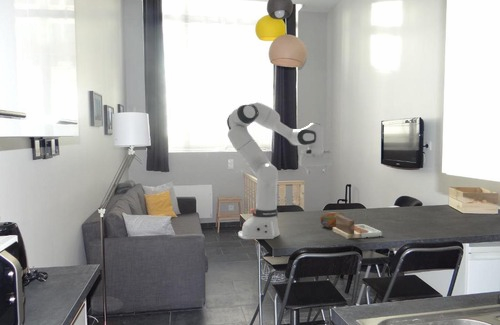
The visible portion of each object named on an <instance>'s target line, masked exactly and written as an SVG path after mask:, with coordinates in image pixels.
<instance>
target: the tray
mask: <svg viewBox="0 0 500 325" xmlns="http://www.w3.org/2000/svg"><path fill="white" fill-rule="evenodd" d="M356 225H357V226H359V227H360V228H364V229H366V230H368V231H369V232H368V233H361V238H360V239H365V238H366V237H368V238H377V237H379V236H380V237H383V231H382V230H379V229H376V228H374V227H371V226H369V225H367V224H364V223H361V224H356ZM354 231H355V230H354ZM380 237H379V238H380Z"/></svg>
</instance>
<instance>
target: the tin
mask: <svg viewBox="0 0 500 325" xmlns="http://www.w3.org/2000/svg"><path fill="white" fill-rule="evenodd" d="M336 215H342V216H344V217H346V216H345V214H344V213H342V212H339V211H337V212H336V211H335V212H325V213H323V214H321V216H320V217H319V218H320V219H319V221H320V222H319V223H320V224H321V225H322V226H323V227H325V228H333V227H336Z"/></svg>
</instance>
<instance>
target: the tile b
mask: <svg viewBox="0 0 500 325" xmlns="http://www.w3.org/2000/svg"><path fill="white" fill-rule="evenodd" d="M355 231H356V232H358V233H368V232H369V231H368V230H366V229H364V228H360V227H357V226H356V227H355Z"/></svg>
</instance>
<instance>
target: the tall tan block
mask: <svg viewBox="0 0 500 325" xmlns="http://www.w3.org/2000/svg"><path fill="white" fill-rule="evenodd" d="M344 216H345V215H344ZM344 216H342V215H336V228H338V229H340V230H342V231H344V232H346V233H348V234H354V225H355V220H354V219H352V218H350V217H349V218H348V217H347V216H345V217H344Z"/></svg>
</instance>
